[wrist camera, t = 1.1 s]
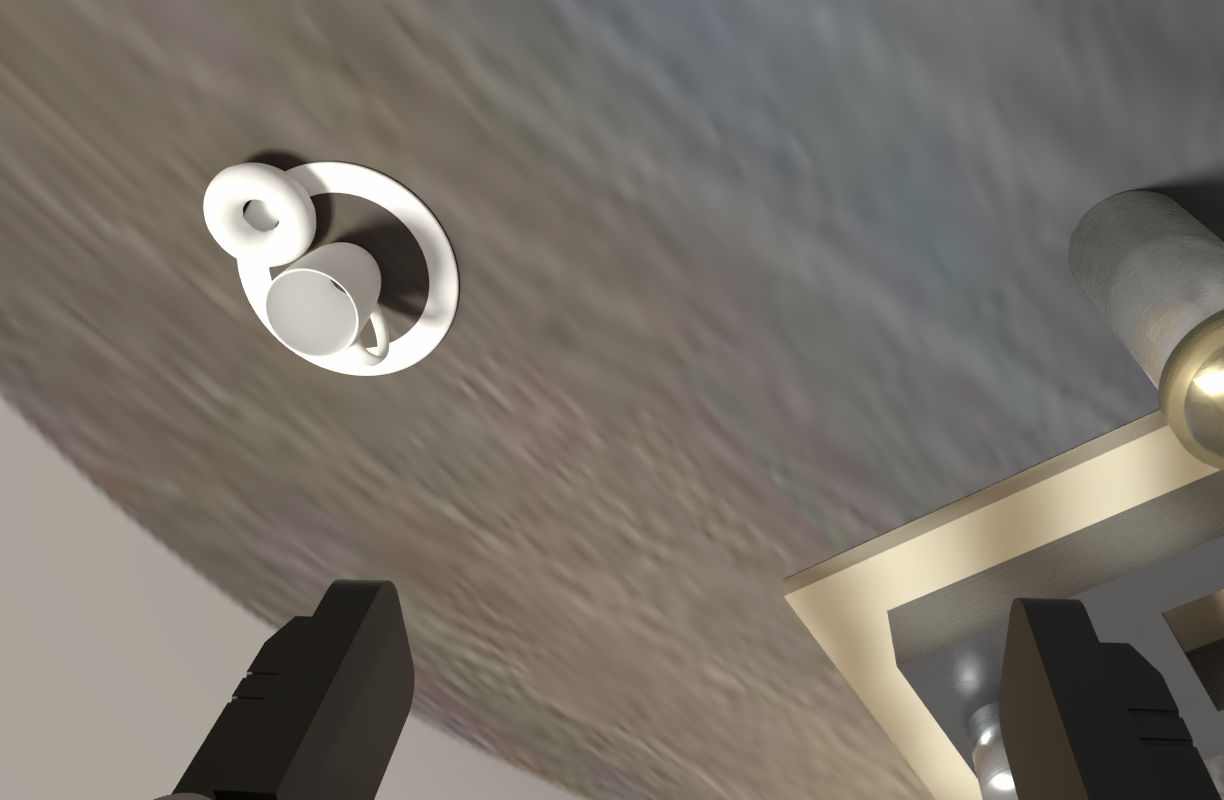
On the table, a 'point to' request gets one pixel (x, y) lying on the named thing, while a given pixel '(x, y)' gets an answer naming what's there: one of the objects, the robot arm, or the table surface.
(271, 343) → the table surface
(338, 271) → the teacup and saucer
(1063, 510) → the birch board
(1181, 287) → the pin
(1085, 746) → the robot arm
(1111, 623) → the knobbed grey block
